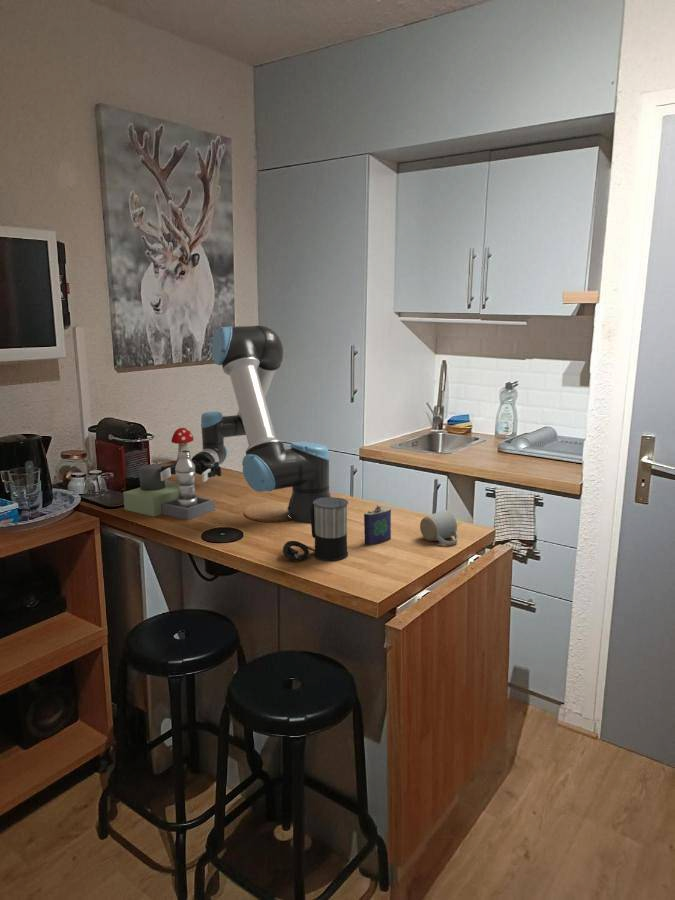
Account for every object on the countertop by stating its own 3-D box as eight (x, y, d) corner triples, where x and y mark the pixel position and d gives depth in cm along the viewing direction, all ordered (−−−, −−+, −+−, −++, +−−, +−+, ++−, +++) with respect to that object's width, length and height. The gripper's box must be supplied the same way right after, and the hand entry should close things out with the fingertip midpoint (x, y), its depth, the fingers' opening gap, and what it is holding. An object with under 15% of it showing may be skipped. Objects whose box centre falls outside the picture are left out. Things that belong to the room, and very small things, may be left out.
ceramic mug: (417, 537, 191) (418, 512, 190) (439, 532, 196) (440, 507, 194) (443, 549, 183) (443, 522, 181) (465, 543, 187) (466, 516, 186)
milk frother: (355, 554, 179) (355, 501, 176) (314, 572, 168) (313, 515, 165) (317, 542, 189) (316, 491, 186) (275, 558, 177) (274, 504, 174)
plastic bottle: (196, 508, 222) (192, 448, 218) (199, 513, 216) (196, 452, 212) (176, 510, 220) (172, 450, 216) (179, 516, 213) (175, 454, 209)
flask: (387, 536, 193) (387, 500, 190) (394, 539, 190) (394, 503, 188) (362, 544, 187) (362, 507, 185) (369, 546, 185) (368, 509, 183)
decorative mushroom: (184, 459, 293) (182, 425, 290) (199, 461, 289) (197, 426, 286) (168, 463, 285) (165, 429, 281) (183, 466, 280) (181, 430, 277)
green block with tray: (221, 507, 222) (219, 469, 219) (181, 522, 207) (178, 482, 204) (165, 496, 236) (163, 460, 233) (124, 509, 221) (121, 471, 218)
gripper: (240, 473, 231) (221, 489, 211) (170, 471, 235) (145, 487, 214) (239, 451, 230) (220, 466, 209) (169, 450, 233) (143, 464, 213)
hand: (182, 477), depth 212 cm, fingers open, 13 cm apart
